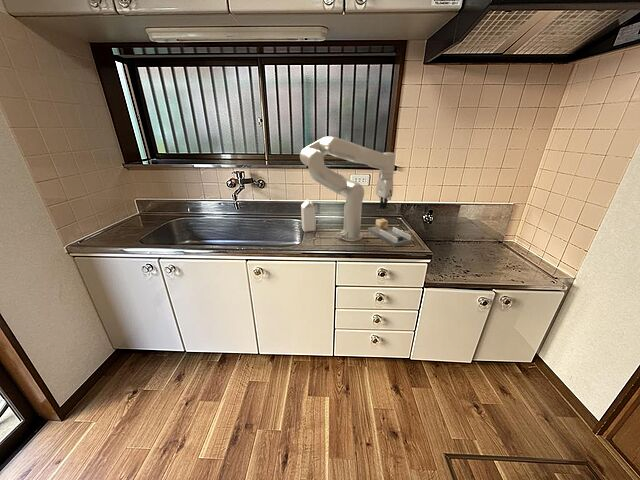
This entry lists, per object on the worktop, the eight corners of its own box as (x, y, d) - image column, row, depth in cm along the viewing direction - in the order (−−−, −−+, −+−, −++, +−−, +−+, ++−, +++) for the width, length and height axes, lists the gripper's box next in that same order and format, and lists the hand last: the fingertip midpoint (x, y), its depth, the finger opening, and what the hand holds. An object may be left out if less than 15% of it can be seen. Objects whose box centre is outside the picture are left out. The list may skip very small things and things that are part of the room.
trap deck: (393, 246, 135) (394, 239, 133) (367, 230, 156) (368, 224, 154) (411, 243, 140) (412, 235, 138) (383, 227, 161) (384, 221, 159)
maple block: (379, 230, 152) (380, 222, 150) (375, 227, 156) (376, 219, 154) (387, 228, 154) (387, 221, 152) (382, 226, 158) (383, 218, 156)
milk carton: (304, 232, 155) (303, 201, 147) (301, 228, 161) (300, 198, 154) (315, 230, 157) (315, 200, 149) (312, 226, 163) (312, 197, 156)
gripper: (372, 174, 146) (370, 205, 153) (389, 179, 133) (385, 212, 140) (383, 173, 148) (380, 204, 156) (400, 177, 135) (396, 211, 143)
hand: (382, 208), depth 148 cm, fingers closed
